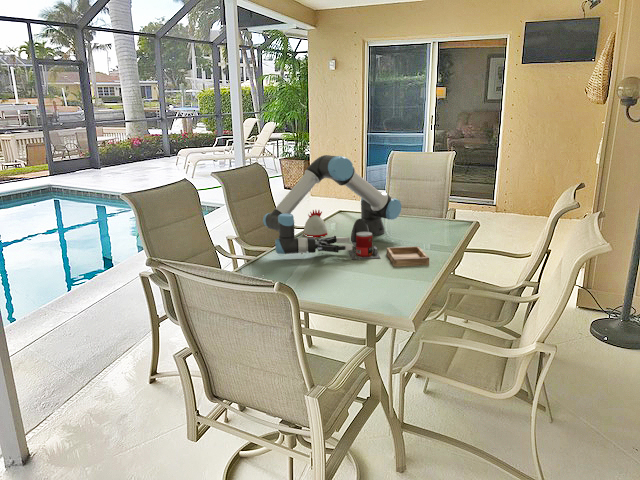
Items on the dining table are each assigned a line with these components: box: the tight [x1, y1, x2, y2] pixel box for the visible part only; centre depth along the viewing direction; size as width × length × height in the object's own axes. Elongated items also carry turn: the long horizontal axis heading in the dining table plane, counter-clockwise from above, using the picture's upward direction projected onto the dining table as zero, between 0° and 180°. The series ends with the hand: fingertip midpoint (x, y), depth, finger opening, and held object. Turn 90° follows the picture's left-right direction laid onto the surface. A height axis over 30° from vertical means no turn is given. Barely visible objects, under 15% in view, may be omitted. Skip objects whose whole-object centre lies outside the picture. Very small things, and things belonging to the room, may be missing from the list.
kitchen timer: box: [303, 209, 328, 238], centre depth 282 cm, size 14×14×15 cm
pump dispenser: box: [350, 217, 369, 248], centre depth 254 cm, size 10×10×15 cm
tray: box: [386, 245, 430, 267], centre depth 232 cm, size 20×16×3 cm
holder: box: [348, 245, 381, 261], centre depth 241 cm, size 14×14×4 cm
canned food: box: [355, 232, 373, 257], centre depth 240 cm, size 8×8×11 cm
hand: (350, 243), depth 239 cm, fingers open, 13 cm apart
